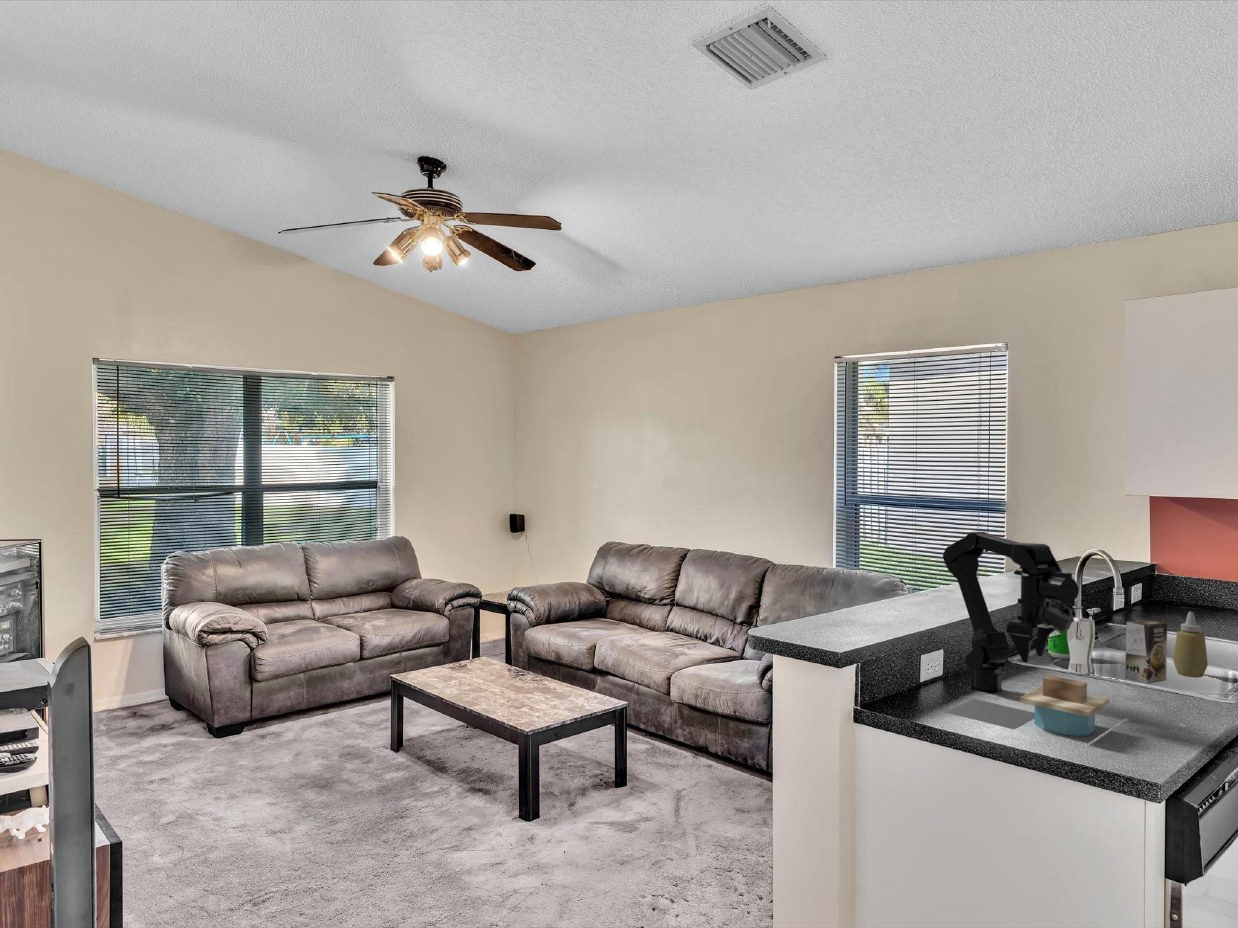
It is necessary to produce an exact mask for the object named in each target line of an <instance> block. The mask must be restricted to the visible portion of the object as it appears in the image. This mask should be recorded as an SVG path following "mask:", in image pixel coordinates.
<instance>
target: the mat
mask: <svg viewBox="0 0 1238 928" xmlns="http://www.w3.org/2000/svg"><path fill="white" fill-rule="evenodd" d="M945 714H950V715H953V716H958V717H963V718H967V719H970V720H974V721H978V722H982V723H985V724H986V723H987V724H990V725H995V726H998V727H1002V728H1007V729H1010V730H1015V729H1017V728H1019V727H1021V726H1023V725H1025V724H1026V723H1028V722H1030V721H1032V720H1035V711H1029V710H1024V709H1020V708H1016V707H1012V706H1008V705H1003V704H999V703H994V702H990V701H985V700H980V699H977V698H973V699H970V700H968V701H967V702H964V703H961V704H960V705H957V706H954V707H953V708H950V709H949V710H946V711H945Z"/></svg>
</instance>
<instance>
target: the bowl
mask: <svg viewBox="0 0 1238 928" xmlns="http://www.w3.org/2000/svg"><path fill="white" fill-rule="evenodd" d="M1034 713H1035V718H1034V724H1035V725H1037V726H1038V727H1039V728H1040V729H1042V730H1044V731H1047V732H1050V733H1055V734H1059V735H1063V736H1071V737H1072V736H1075V737H1081V736H1083V737H1084V736H1089V735H1092V733H1094V732H1095V728H1096V727H1095V726H1096V724H1095V722H1096V712H1095V713H1093V714H1092V715H1090V716H1088V717H1087V716H1082V715H1078V714H1073V713H1069V712H1064V711H1060V710H1055V709H1051V708H1046V707H1042V706H1037V705H1034Z"/></svg>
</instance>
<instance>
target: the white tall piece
mask: <svg viewBox="0 0 1238 928" xmlns="http://www.w3.org/2000/svg"><path fill="white" fill-rule="evenodd" d="M1095 633H1096V629H1095V619H1090V618H1085V617H1076V616H1074V622H1072V623H1071V625H1070V628H1069V629H1067V641H1068V647H1069V653H1070V659H1069V664H1068V669H1067V670H1068V672H1069V673H1073V674H1078V675H1087V676H1088V675H1093V667H1092V656H1093V650H1094V646H1095V640H1096V639H1095V638H1096V634H1095Z"/></svg>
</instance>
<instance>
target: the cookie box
mask: <svg viewBox="0 0 1238 928" xmlns="http://www.w3.org/2000/svg"><path fill="white" fill-rule="evenodd" d="M1125 627H1126V630H1125V632H1126V633H1125V634H1126V636H1125V661H1124V662H1125V669H1124V678H1125V680H1129V681H1133V682H1137V683H1141V684H1145V685H1149V684H1154V683H1160V682H1166V681H1167V659H1168V658H1167V657H1168V656H1167V655H1168V654H1167V653H1168V652H1167V651H1168V623H1167V622H1164V621H1157V620H1150V619H1138V620H1131V621H1129V620H1128V621H1126V626H1125Z"/></svg>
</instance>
